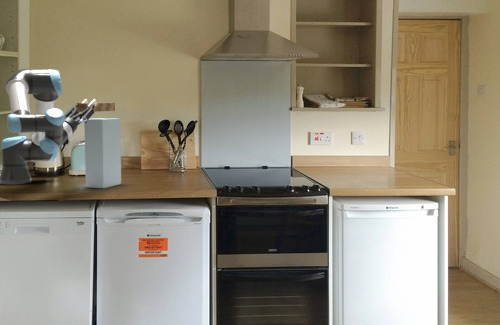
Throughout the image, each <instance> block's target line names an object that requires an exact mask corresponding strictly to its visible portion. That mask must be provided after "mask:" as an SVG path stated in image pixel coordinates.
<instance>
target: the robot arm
mask: <svg viewBox="0 0 500 325" xmlns="http://www.w3.org/2000/svg"><path fill="white" fill-rule="evenodd" d="M62 88H63V87H62V79H61V74H60V71H59V70H57V69H51V68H49V69H40V68H39V69H37V68H23V69H22V68H21V69H19V70H18V69H17V70H16V71H14V72H13V73H12V74H11V75H10V76H8V79H7V80H6V82H5V91H6V94H7V95H8V97H9V104H10V114H8V115H7V117H6V118H7V119H6V120H7V121H6V122H7V130H8V132H9V133H17V134H21V133H33V134H32V135H31V138H27V136H26V135H22V136H21V135H20V136H12V137H7V138H4V139H2V141H1V148H0V149H1V155H2V156H1V158H2V159H1V160H2V161H1V162H2V167H1V172H0V185H9V186H10V185H23V184H24V185H25V184H29V183H32V176H31V174H30V171H29V169H28V163H29V162H50V161H55V160H56V159H57V157H58V154H59V149H60V148H61V146H63V144H64V143H65V142H66V141H67V140H68V139H69V138H70V137H71V136H72V135H73V134H74V133H75V132H76V131H77V129H78V126H79V125H81V124H82V123H87V121H88V119H91V117H92V116H93V115H94V114H95V112H94V108H95V106H96V105H97V103H98V102H97V99H96V98H94V99H93V100H91V102H88V99H87V98H85V99H84V100H83V101H82V102H81V103H90V104H89V105H88V106H87V107H88V108H86V109H85V110H84V111H82V112H77V104H75V106H72V107H71V108H70V109H69V110H67V112H66V113H64V112H63V111H62V110H61V109H60V108H57V107H56V108H55V105H56V104H55V102H56V101H57V100H58V98H59V96H61V95H62V94H63V89H62ZM28 95H32V96H33V98H34V99H35V113H31V109H30V103H29V96H28Z"/></svg>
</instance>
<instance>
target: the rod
mask: <svg viewBox="0 0 500 325" xmlns="http://www.w3.org/2000/svg"><path fill="white" fill-rule="evenodd" d="M90 103H91V102H88V103H82V102H76V105H77V112H79V113H81V112H82V111H84V110H85V109H86V108H88V107H87V106H88V105H89V104H90ZM115 103H116V102H97V105H96V106H95V108H94V113H95V112H115V111H116V104H115Z"/></svg>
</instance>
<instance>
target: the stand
mask: <svg viewBox="0 0 500 325" xmlns="http://www.w3.org/2000/svg"><path fill="white" fill-rule="evenodd" d="M83 123H84V122H83ZM121 137H122V136H121V118H109V117H103V118H102V117H101V118H98V117H97V118H89V119H88V121H87V123H84V165H85V166H84V167H85V169H84V170H85V188H95V189H107V188H111V187H113V186H114V187H115V186H117V185H118V186H119V185H122V155H121V154H122V153H121V152H122V150H121V148H122V147H121V145H122V144H121V141H122V140H121Z"/></svg>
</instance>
